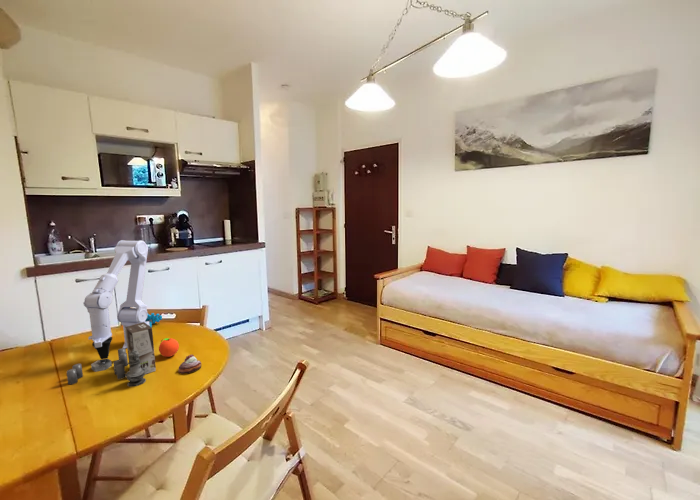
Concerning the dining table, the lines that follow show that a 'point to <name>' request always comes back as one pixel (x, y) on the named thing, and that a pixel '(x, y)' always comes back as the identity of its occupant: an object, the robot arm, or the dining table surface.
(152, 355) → the coffee box
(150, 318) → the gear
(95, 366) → the nut
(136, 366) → the grey tall stone piece
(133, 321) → the robot arm
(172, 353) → the clementine
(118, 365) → the spacers
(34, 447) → the dining table surface
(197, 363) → the pastry
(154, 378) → the dining table surface
